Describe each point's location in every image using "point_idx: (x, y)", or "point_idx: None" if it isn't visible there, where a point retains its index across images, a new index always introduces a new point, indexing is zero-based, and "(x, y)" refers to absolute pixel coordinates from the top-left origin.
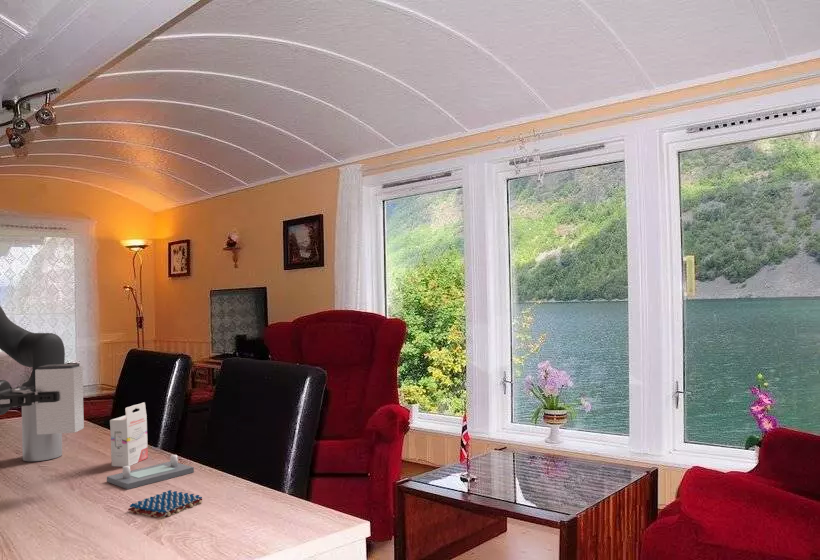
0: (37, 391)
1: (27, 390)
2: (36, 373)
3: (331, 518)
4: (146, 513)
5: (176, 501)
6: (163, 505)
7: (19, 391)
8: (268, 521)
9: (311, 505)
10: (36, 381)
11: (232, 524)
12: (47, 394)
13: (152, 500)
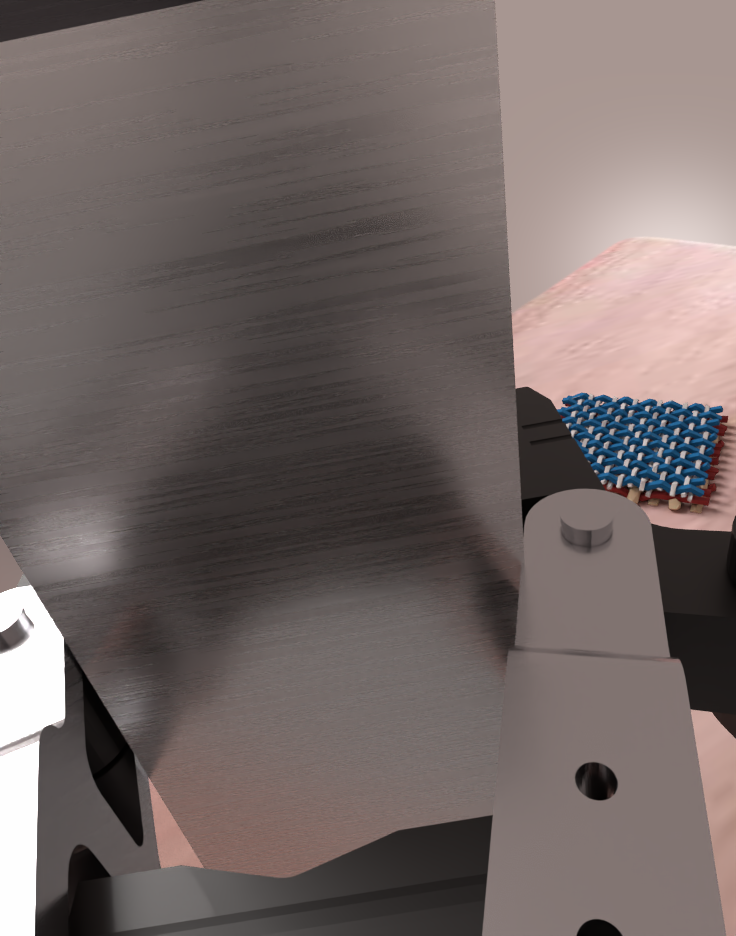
0: (513, 534)
1: (621, 654)
2: (492, 94)
3: (620, 258)
4: (718, 453)
5: (624, 418)
6: (677, 421)
7: (715, 929)
8: (664, 298)
9: (555, 287)
10: (505, 338)
11: (703, 325)
12: (562, 422)
13: (637, 461)
